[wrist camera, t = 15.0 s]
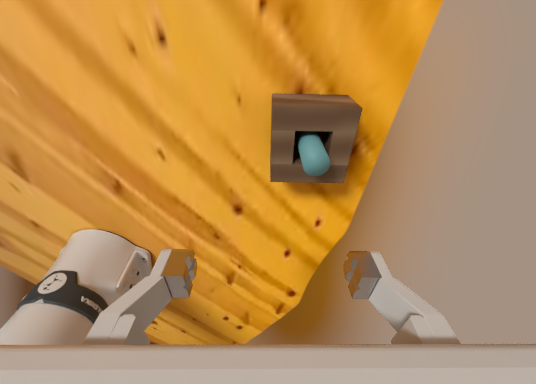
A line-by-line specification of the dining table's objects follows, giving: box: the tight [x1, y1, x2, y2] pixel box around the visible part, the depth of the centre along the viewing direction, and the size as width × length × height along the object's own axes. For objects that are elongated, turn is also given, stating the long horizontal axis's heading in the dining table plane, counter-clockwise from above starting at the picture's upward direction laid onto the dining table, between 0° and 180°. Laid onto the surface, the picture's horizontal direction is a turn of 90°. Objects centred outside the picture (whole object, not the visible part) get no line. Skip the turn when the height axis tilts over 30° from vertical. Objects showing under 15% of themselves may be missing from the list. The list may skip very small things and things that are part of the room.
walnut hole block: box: [270, 94, 362, 183], centre depth 31 cm, size 10×10×6 cm
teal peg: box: [295, 131, 330, 176], centre depth 29 cm, size 3×3×10 cm
